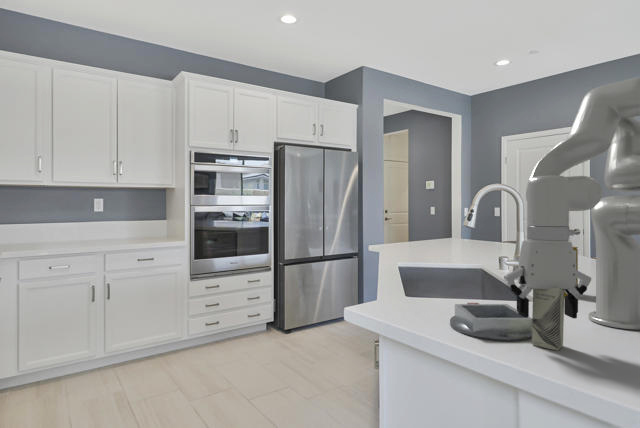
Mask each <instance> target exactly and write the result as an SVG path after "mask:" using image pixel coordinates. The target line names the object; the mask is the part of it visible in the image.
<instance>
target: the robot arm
mask: <svg viewBox="0 0 640 428" xmlns="http://www.w3.org/2000/svg"><path fill="white" fill-rule="evenodd" d="M635 117H640V76H635V77H631V78H628V79H624V80H620V81H616V82H611V83H607V84H604V85H601V86H597V87H595V88H592V89H591V90H590V91H588V92H587V93H586V94H585V95H584V97H583V99H582V101H581V103H580V105H579V108H578V111H577V113H576V116H575V118H574V121H573V123H572V126H571V128H570V130H569V133H568V134H567V136H566V137H565V138H564V139H563V140H561V141H560V142H559V143H558V144H556V145H555V146H554V147H553V148H552V149H550V150H549V151H548V152H547V153H546V154H544V155H543V157H541V159H540V160H538V162H537V163H536V165H535V166H534V168H533V170H532V173H531V175H530V178H529V179H528V181H527V185H526V191H525V199H526V240H523V241H522V243H521V247H520V251H519V256H518V257H519V258H518V263H517V264H518V265H517V269H515V270H513V271H511V272H508V273H507V274H505V275H504V276H503V279H504V281H505V283H506V285H507V287H508V289H509V290H510V291H511V292H512V293H513V294H514V295H515V296H516V310H517V312H518V314H519V315H521V316H523V317H524V318H528V317H530V315H529V313H530V311H529V309H530V308H529V307H530V303H529V301H530V300H529V298H527V296H528V295H529V294H531V292H533V289H535V290H547V289H550V288H562V290H564V291H565V292H566V293H567V296H565V297H564V316H565V315H566V316H567V317H568V318H572V319H577V318H578V312H579V300H580V299H581V298H582V295H583V294H584V293H585V292H587V291H588V287H589V285H590V283H591V281H592V277H591V276H589V275H587V274H586V273H583V272H581V271H579V270H578V271H577V270H576V262H575V255H574V250H573V247H574V245H573V242H572V241H570V237H573V236H574V235H575V229H570V219H569V218H570V212H584V211H589V210H590V217H591V222H592V223H591V224H592V227H593V233H594V240H595V310H594V311H591V312H589V313H588V319H589V320H590V321H592V322H594V323H595V324H596V323H597V324H598V325H602V326H607V327H611V328H616V329H623V330H632V331H633V330H634V331H636V330H637V331H640V243H639V242H638V241H637V240H636V239H635V237H634V236H640V194H638V195H637V194H633V195H631V194H627V195H611V196H605V197H602V196H603V190H602V186H601V185H600V183H599V182H598V181H597V180H596V179H595V178H592V177H590V176H586V175H573V176H572V175H571V176H564V175H562V174H563V173H565V172H566V171H568V170H570V169H572V168H573V167H575V166H578V165H580V164H583V163H585V162H588V161H589V160H591V159H594V158H596V157H598V156H601V155H602V154H603V153H605V152H606V151H607V155H606V163H605V168H604V169H605V170H604V175H603V176H604V177H603V178H604V185H605V186H606V188H607V189H608V190H610V191H612V192H620V193H630V192H631V193H639V192H640V121H638V120H637V119H636V118H635ZM568 226H569V227H568ZM576 277H577V278H578V285H577V286H576ZM515 280H517V282H518V284H519V286H518V285H517V284H516V283H515ZM575 286H576V287H575Z"/></svg>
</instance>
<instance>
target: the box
mask: <svg viewBox="0 0 640 428" xmlns="http://www.w3.org/2000/svg"><path fill="white" fill-rule="evenodd" d="M564 303H565V297H564V290H562V288H550V289H547V290H535V289H532V315H531V316H532V317H531V318H532V338H531V344H532V345H533V346H536V347H541V348H544V349H545V348H546V349H549V350H553V351H559V350H560V349H562V347H563V346H564V323H565V320H564V319H565V318H564V317H565V313H564Z"/></svg>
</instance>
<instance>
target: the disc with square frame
mask: <svg viewBox="0 0 640 428" xmlns="http://www.w3.org/2000/svg"><path fill="white" fill-rule="evenodd" d="M449 326H450V327H451V329H453V330H454V331H456V332H458V333H460V334H463V335H466V336H469V337H473V338H475V339H476V338H477V339H481V340H486V341H496V342H521V341H526V340H530V339H531V340H532V317H530V316H529V317H528V318H524V317H523V316H521V315H519V314H518V312H517V308H514V307H513V306H511V305H510V304H508V303H490V304H489V303H485V304H484V303H483V304H482V303H479V302H466V303H464V304H463V303H460V304H459V303H458V304H457V303H455V304H454V316H451V317H450V319H449Z"/></svg>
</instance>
